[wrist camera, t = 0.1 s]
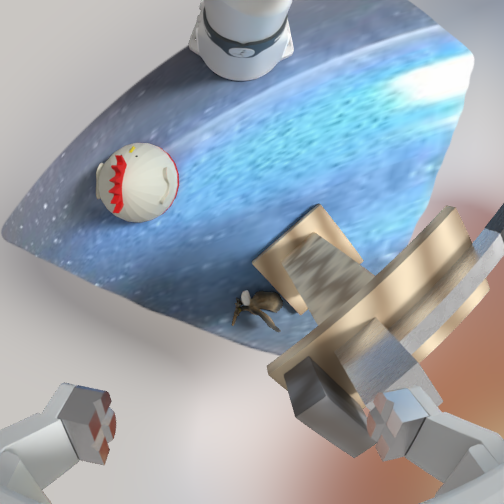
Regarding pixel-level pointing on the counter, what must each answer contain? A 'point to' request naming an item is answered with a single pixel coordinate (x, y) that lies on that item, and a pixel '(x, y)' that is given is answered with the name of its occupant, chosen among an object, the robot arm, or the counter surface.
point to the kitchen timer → (137, 182)
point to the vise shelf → (351, 311)
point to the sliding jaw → (418, 324)
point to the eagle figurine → (259, 305)
